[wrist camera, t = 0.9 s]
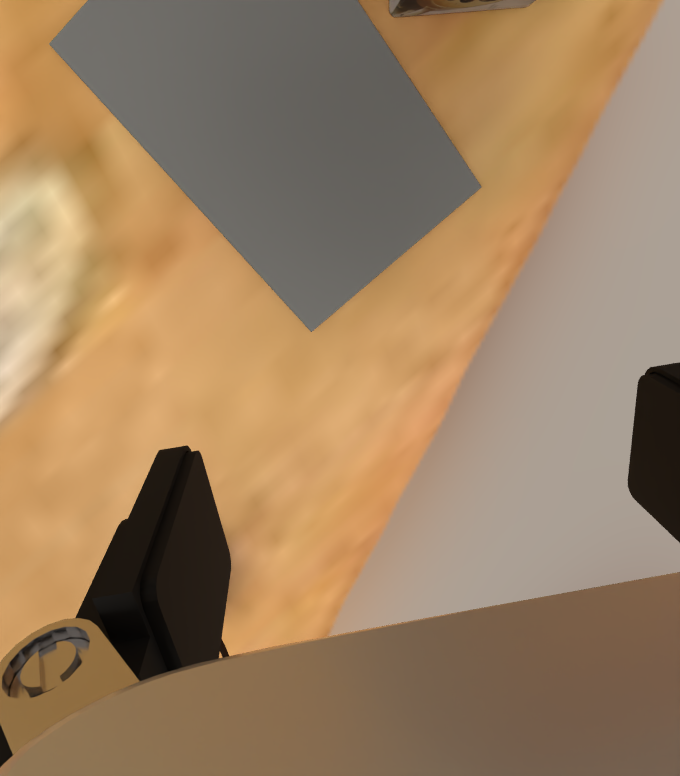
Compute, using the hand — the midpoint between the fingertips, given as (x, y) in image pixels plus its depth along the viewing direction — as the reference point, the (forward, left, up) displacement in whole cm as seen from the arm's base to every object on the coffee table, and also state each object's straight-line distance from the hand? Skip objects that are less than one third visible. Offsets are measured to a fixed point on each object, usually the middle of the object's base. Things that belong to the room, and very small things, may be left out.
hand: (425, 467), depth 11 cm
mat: (-9, -3, -29) cm, 31 cm away
